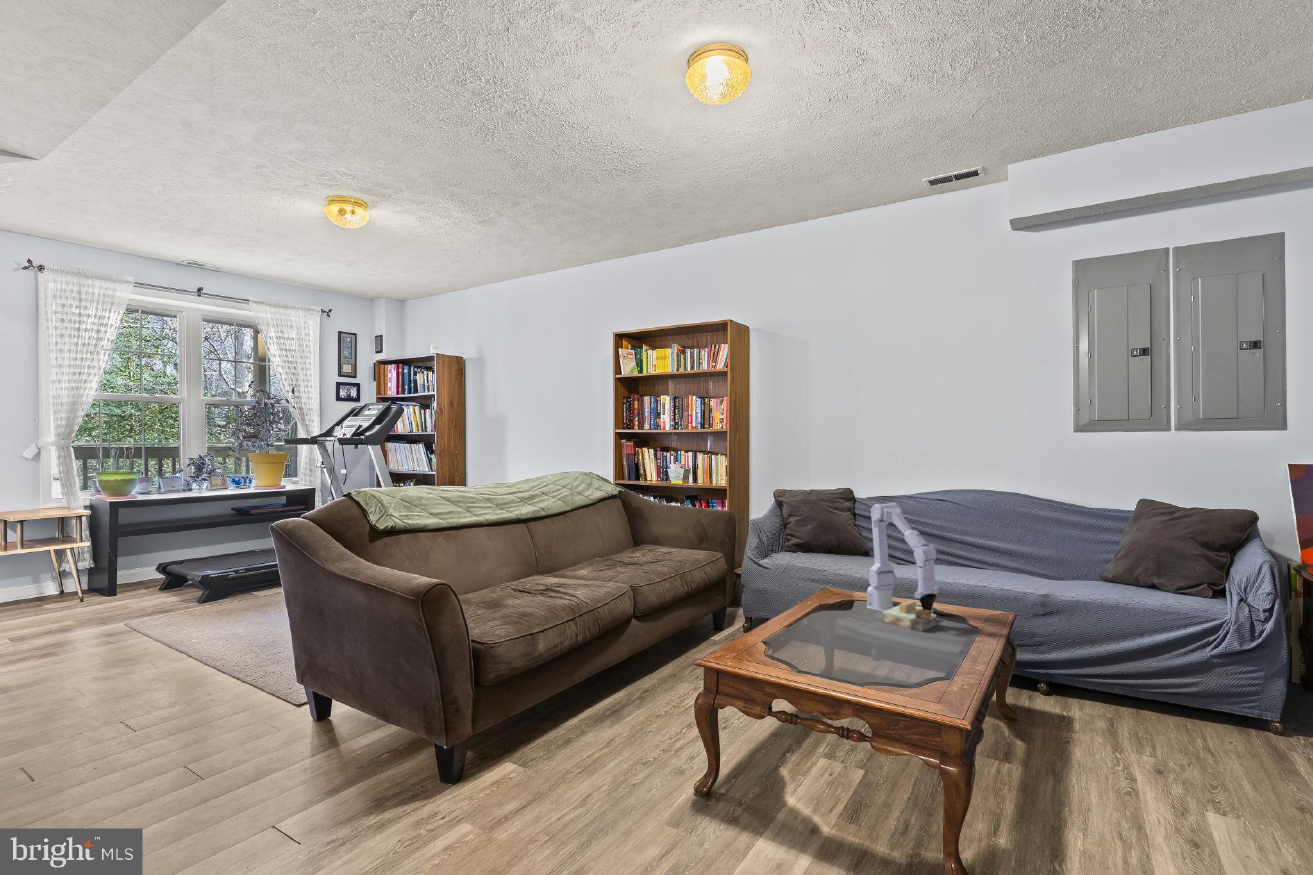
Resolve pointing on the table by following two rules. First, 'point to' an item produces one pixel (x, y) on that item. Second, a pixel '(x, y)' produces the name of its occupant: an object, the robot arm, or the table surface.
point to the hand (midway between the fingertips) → (927, 613)
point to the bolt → (923, 613)
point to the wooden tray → (911, 622)
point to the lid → (905, 611)
